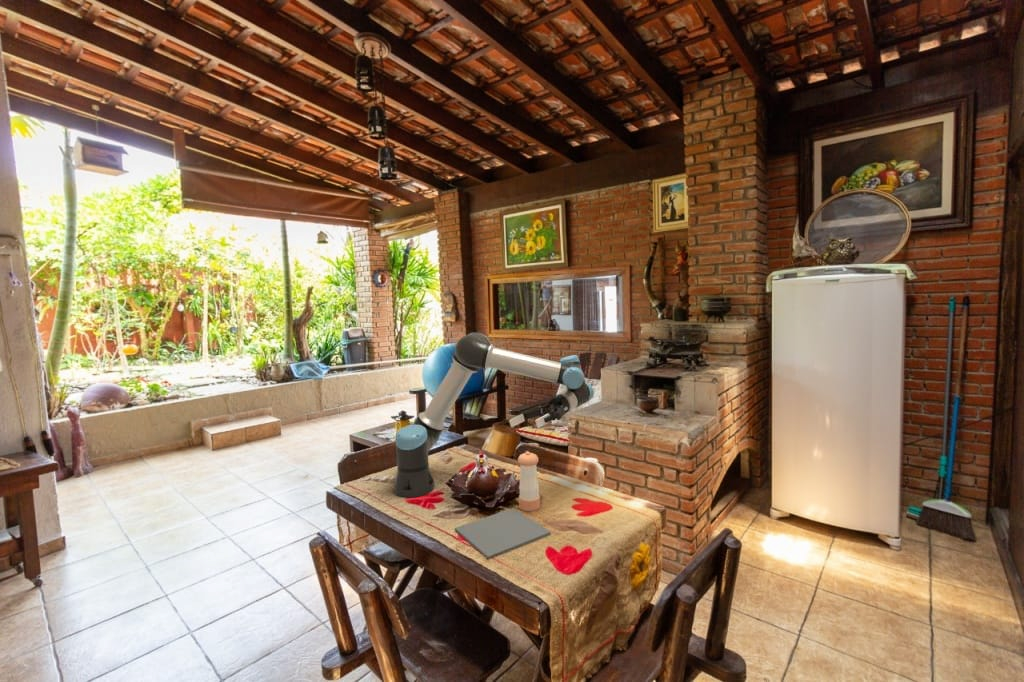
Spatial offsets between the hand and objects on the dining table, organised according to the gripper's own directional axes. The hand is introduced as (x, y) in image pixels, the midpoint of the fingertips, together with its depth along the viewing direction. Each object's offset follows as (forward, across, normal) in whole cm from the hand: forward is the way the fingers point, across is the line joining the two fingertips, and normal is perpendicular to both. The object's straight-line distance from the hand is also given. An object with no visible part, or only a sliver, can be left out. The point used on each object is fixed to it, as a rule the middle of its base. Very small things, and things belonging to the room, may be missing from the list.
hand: (523, 423), depth 159 cm
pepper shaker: (+6, +1, -28) cm, 28 cm away
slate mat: (+24, -6, -26) cm, 36 cm away
